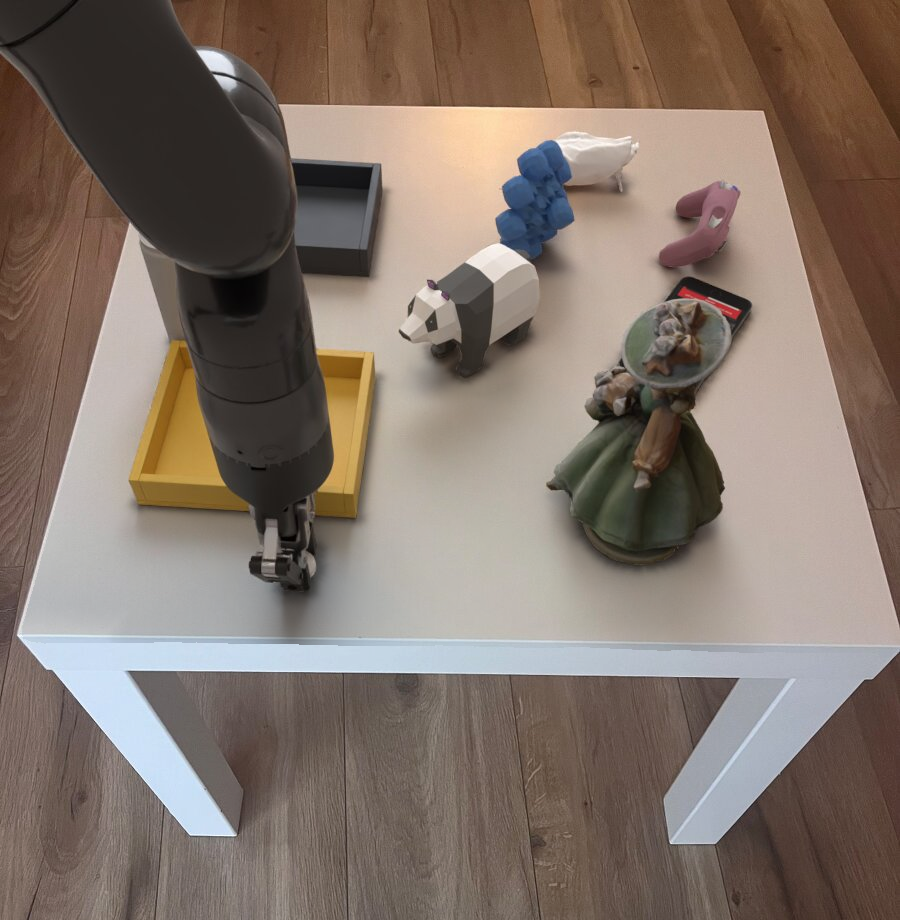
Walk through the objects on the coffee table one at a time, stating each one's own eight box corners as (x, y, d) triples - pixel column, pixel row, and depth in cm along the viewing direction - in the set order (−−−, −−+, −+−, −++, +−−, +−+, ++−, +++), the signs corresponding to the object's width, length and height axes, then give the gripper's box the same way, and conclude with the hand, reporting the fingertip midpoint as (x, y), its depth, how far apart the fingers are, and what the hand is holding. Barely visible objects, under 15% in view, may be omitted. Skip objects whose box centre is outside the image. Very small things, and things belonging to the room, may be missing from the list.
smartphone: (755, 302, 87) (689, 399, 80) (752, 308, 87) (687, 404, 81) (685, 273, 89) (615, 365, 82) (683, 279, 89) (613, 371, 82)
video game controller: (688, 289, 91) (738, 242, 85) (652, 262, 90) (700, 213, 84) (706, 229, 96) (754, 182, 90) (672, 203, 95) (719, 153, 89)
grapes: (536, 307, 87) (551, 194, 77) (476, 280, 89) (483, 166, 78) (593, 242, 92) (614, 127, 82) (535, 218, 94) (549, 103, 84)
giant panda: (499, 301, 87) (507, 213, 79) (541, 332, 85) (553, 244, 77) (383, 375, 82) (379, 288, 74) (425, 409, 80) (425, 324, 71)
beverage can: (162, 357, 82) (125, 243, 72) (186, 322, 85) (153, 207, 74) (211, 369, 82) (181, 256, 71) (234, 333, 84) (207, 219, 74)
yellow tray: (138, 504, 74) (127, 480, 71) (179, 366, 82) (171, 339, 79) (355, 518, 73) (353, 494, 71) (375, 377, 82) (373, 351, 79)
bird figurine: (607, 173, 100) (522, 156, 97) (636, 122, 94) (546, 102, 91) (613, 208, 99) (526, 192, 96) (643, 159, 92) (551, 140, 90)
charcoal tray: (209, 267, 89) (202, 240, 86) (234, 181, 96) (229, 154, 93) (368, 276, 89) (367, 249, 86) (382, 190, 96) (381, 163, 93)
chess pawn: (317, 555, 71) (312, 528, 68) (315, 582, 70) (310, 557, 67) (283, 555, 71) (277, 529, 68) (281, 583, 70) (275, 557, 67)
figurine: (549, 423, 79) (583, 222, 62) (711, 439, 79) (791, 241, 62) (539, 561, 72) (574, 375, 55) (719, 580, 71) (812, 398, 54)
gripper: (227, 330, 60) (266, 495, 74) (181, 500, 52) (235, 645, 67) (341, 337, 60) (357, 500, 74) (312, 508, 52) (336, 651, 67)
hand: (299, 568), depth 71 cm, fingers closed on chess pawn, 2 cm apart
